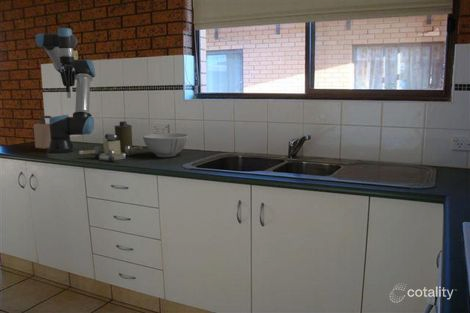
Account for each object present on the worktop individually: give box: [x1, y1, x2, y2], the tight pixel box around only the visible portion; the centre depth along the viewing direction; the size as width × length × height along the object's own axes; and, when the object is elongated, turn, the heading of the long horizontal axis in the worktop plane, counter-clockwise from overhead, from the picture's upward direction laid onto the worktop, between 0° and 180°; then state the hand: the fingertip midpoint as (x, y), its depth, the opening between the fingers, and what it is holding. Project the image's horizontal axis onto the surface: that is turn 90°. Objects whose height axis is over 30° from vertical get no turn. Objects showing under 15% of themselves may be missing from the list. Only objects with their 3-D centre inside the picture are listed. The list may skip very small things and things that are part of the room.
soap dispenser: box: [32, 115, 52, 149], centre depth 293 cm, size 13×9×22 cm
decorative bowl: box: [142, 132, 189, 158], centre depth 255 cm, size 27×27×12 cm
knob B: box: [78, 146, 101, 159], centre depth 248 cm, size 12×3×6 cm, turn 116°
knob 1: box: [108, 150, 127, 162], centre depth 236 cm, size 12×3×6 cm, turn 61°
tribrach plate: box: [98, 133, 127, 162], centre depth 247 cm, size 15×15×14 cm
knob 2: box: [125, 145, 144, 157], centre depth 257 cm, size 12×3×6 cm, turn 133°
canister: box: [114, 120, 134, 155], centre depth 262 cm, size 11×10×20 cm
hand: (69, 97), depth 247 cm, fingers closed
